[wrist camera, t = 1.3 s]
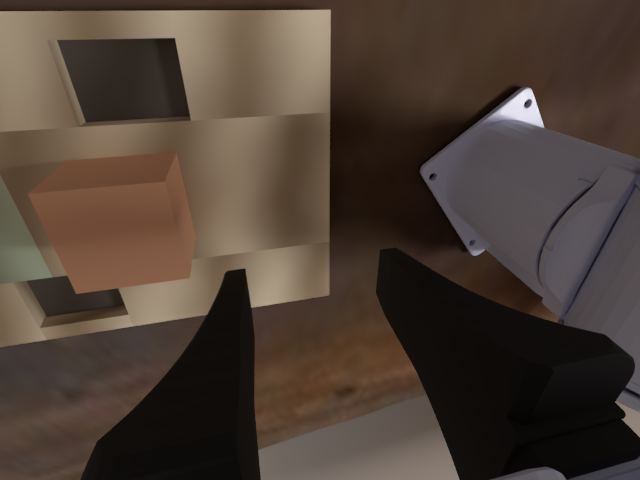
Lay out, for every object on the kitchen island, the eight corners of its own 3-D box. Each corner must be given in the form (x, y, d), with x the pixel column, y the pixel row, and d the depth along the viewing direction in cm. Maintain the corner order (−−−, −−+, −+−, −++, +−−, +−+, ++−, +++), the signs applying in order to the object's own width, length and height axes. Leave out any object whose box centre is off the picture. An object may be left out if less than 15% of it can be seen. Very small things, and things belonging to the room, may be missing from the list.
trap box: (324, 10, 17) (342, 7, 14) (325, 284, 26) (336, 314, 23) (-259, 13, 13) (-384, 10, 10) (-21, 337, 22) (-55, 380, 19)
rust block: (176, 152, 18) (164, 181, 14) (195, 236, 20) (189, 278, 17) (67, 160, 17) (27, 193, 13) (102, 247, 19) (76, 293, 16)
